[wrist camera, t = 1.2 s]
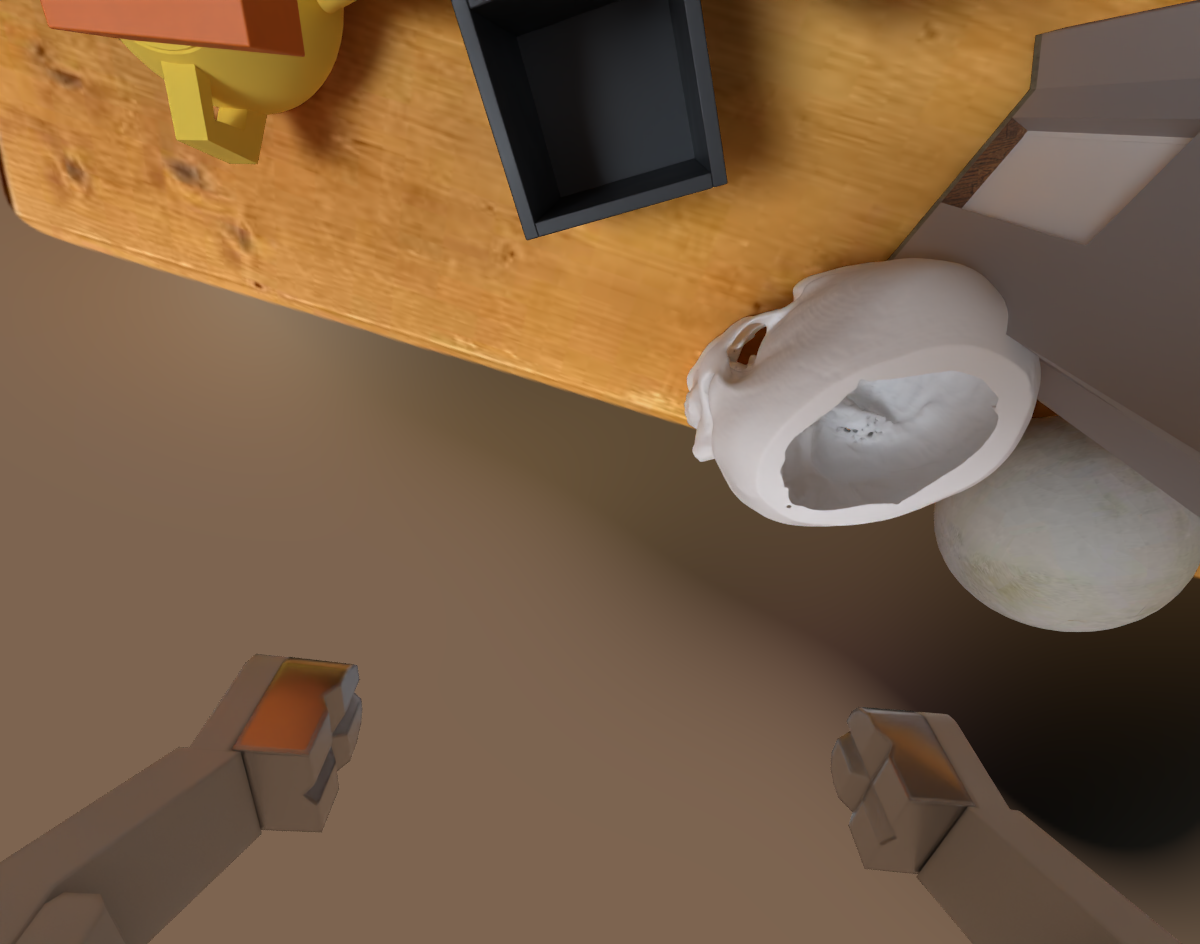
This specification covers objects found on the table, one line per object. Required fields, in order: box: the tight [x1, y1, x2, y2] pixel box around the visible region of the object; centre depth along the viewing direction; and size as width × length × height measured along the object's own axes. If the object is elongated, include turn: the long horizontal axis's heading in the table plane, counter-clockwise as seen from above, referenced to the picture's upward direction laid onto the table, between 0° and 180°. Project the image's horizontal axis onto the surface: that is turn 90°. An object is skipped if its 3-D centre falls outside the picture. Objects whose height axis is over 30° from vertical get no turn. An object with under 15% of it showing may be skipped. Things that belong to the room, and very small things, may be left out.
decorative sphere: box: [934, 416, 1200, 632], centre depth 42 cm, size 15×15×15 cm
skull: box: [684, 258, 1041, 526], centre depth 37 cm, size 13×18×20 cm
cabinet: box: [887, 0, 1200, 518], centre depth 28 cm, size 21×10×28 cm, turn 13°
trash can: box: [451, 0, 727, 240], centre depth 32 cm, size 10×10×12 cm
